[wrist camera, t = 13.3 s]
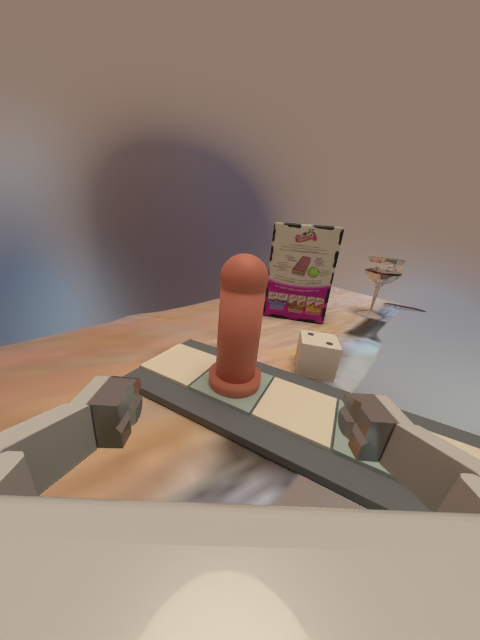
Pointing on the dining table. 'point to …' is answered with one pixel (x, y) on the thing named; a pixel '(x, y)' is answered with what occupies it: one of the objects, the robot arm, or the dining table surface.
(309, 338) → the die
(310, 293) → the candy bar box
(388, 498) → the track board
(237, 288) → the pawn
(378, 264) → the wineglass
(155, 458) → the dining table surface
